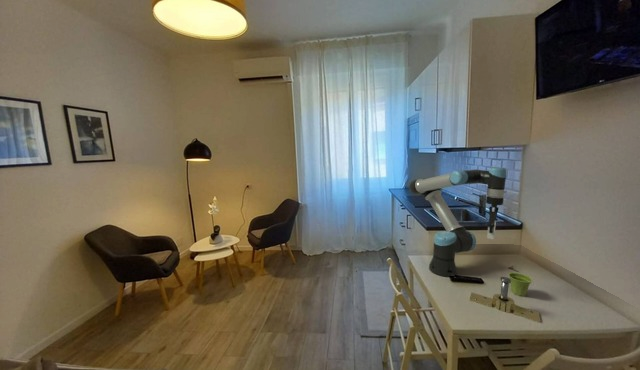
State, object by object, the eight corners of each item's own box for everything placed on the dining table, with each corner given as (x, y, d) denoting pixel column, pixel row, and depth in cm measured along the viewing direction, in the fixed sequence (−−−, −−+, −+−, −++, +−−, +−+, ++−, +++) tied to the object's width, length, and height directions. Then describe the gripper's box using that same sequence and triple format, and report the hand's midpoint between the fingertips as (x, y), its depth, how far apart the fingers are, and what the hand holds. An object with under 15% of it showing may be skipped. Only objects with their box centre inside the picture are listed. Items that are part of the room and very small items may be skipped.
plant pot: (524, 300, 122) (526, 283, 121) (502, 290, 131) (504, 275, 129) (533, 295, 127) (535, 279, 125) (512, 286, 135) (514, 271, 134)
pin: (497, 307, 117) (500, 279, 115) (497, 303, 120) (500, 275, 118) (507, 310, 115) (511, 281, 113) (507, 306, 118) (511, 278, 116)
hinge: (469, 300, 122) (470, 293, 121) (471, 293, 128) (472, 286, 128) (540, 323, 106) (541, 314, 106) (538, 313, 113) (539, 305, 112)
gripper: (503, 201, 121) (498, 243, 124) (504, 194, 141) (500, 230, 144) (484, 199, 126) (480, 240, 129) (488, 192, 145) (484, 228, 148)
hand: (491, 235), depth 136 cm, fingers open, 13 cm apart
